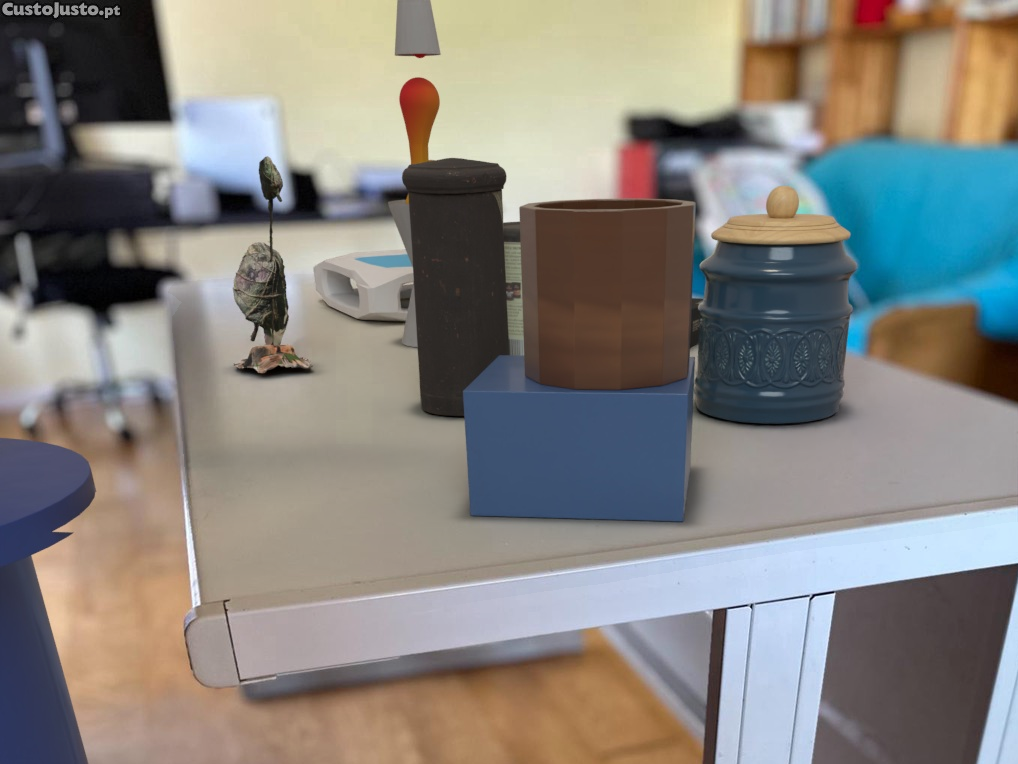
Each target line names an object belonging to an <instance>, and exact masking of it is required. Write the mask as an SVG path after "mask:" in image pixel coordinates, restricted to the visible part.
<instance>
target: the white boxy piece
mask: <svg viewBox="0 0 1018 764" xmlns="http://www.w3.org/2000/svg"><path fill="white" fill-rule="evenodd" d="M312 270H313V278H314V284H315V286H314V287H315V290H316V292H317V294H319V296H320V297H321V298H322V299H323V300H324V302H325V303H326V304H327V305H328V306H329V307H331V308H333V309H335V310H337V311H340V312H341V313H344V314H346V315H348V316H351V317H353V318H354V319H358V320H362V321H380V322H381V321H382V322H384V321H385V322H386V321H387V322H404V323H406V318H407V313H408V308H409V307H402V305H401V300H402V299H410V297H411V292H412V287H413V282H414V277H413V267H412V264H411V262H410V259H409V257H408V254H407V252H406V249H405V248H403V249H391V250H390V249H388V250H373V251H358V252H352V253H347V254H343V255H339V256H335V257H331V258H327V259H324V260H323V261H320V262H319V263H317V264H315V265H314V266H313V267H312ZM351 280H353V281H354V282H355V283H356V287H357V288H356V287H355V288H354V287H353V285H352V282H351Z"/></svg>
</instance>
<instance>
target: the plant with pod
mask: <svg viewBox="0 0 1018 764" xmlns="http://www.w3.org/2000/svg"><path fill="white" fill-rule="evenodd" d="M258 175H259V182H260V188H261V192H262V196H263V198H264V200H266V201H267V210H268V213H269V222H270V223H269V241H268V243H269V244H267V243H265V242H252V243H251V244H250V245H249V246H248V247H247V250H246V251H245V252H244V255H243V256H242V259H241V261H240V263H239V267H238V270H237V271H236V272H235V276H234V278H233V286H232V292H233V299H234V302H235V304H236V305H237V307H238V309H240V311H241V313H242V314H243V315H244V316H245V317H244V318H245V320H246V321H248V322H251V323H253V326H254V327H253V331H252V333H251V335H250V336H249V337H250V341H251V342H256V338H257V335H258V332H259V327H260V328H262V330H263V334H264V336H263V338H264V343H265V344H264V345H256V346H253V347H252V348H251V349H250V350H249V353H248V357H247V358H243V359H241V360H240V362H239V363H233V366H234V367H236V368H237V369H246V368H247V369H248V368H249V369H254V370H255V371H256V372H257V373H258V374H265V373H267V371H271V370H273V369H275V368H276V367H278V366H280V367H281V368H284V367H285V368H290V367H291V369H294V368H296V369H298V368H302V369H306V370H307V369H311V368H313V367H314V365H312V364H311V362H312V361H311V360H309V358H307V357H299V356H298V354H297V353H296V349H295V348H294V346H292V345H290V344H281V343H282V340H283V337H284V335H285V332H286V330H287V326H288V324H289V323H288V322H289V318H290V316H289V309H290V307H289V303H288V297H287V281H286V274H285V267H286V266H285V265H284V260H283V258H282V256H281V253H280V252H278V251H277V250H276V249H273V247H274V246H273V243H274V242H273V241H274V240H273V233H274V232H273V223H274V217H273V216H274V215H273V214H274V213H273V212H274V200H275V198H276V199H277V201H278V202H279V203H282V202H283V199H282V197H281V195H280V193H281V191H282V189H283V188H284V182H283V178H282V175H281V173H280V171H279V170H278V168H277V166H276V164H274V163H273V160H272V158H271V157H270V156H264V158H262V159H261V160H260V161H259V163H258Z"/></svg>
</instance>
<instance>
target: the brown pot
mask: <svg viewBox="0 0 1018 764" xmlns="http://www.w3.org/2000/svg"><path fill="white" fill-rule="evenodd" d="M696 207H697V203H696V202H695V201H691V200H683V199H672V198H671V199H668V198H667V199H666V198H588V199H587V198H585V199H583V198H582V199H564V200H563V199H562V200H550V201H539V202H529V203H526V204H524V205H520V206H519V211H518V213H519V222H520V242H521V273H522V303H523V333H524V364H525V376H526V377H528V378H530V379H532V380H533V381H535V382H537V383H539V384H541V385H547V386H554V387H560V388H567V389H574V390H628V389H638V388H648V387H657V386H664V385H667V384H670V383H673V382H676V381H680V380H683V379H686V378H687V375H688V371H689V360H690V357H691V356H690V355H691V353H690V352H691V347H690V335H691V310H692V298H693V281H694V258H695V257H694V256H695V233H696Z"/></svg>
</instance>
